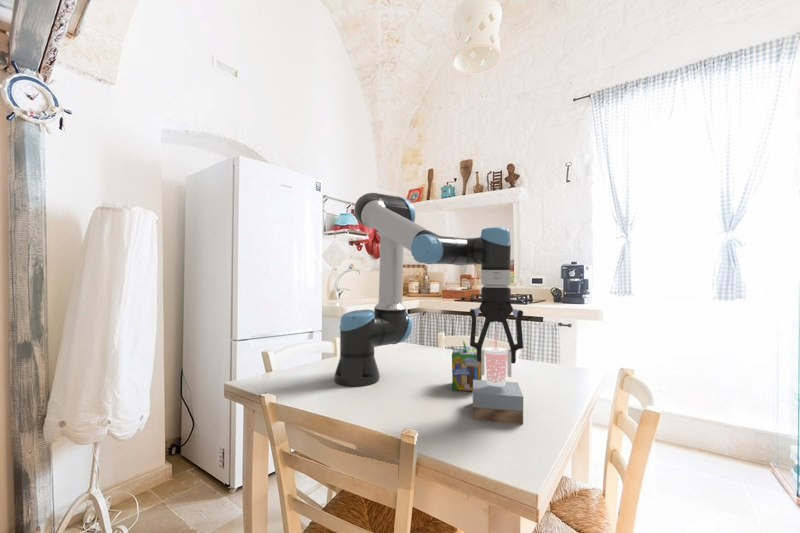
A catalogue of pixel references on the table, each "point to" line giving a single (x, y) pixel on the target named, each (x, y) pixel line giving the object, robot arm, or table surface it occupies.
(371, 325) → the robot arm
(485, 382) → the slate top slab
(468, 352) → the chalk box
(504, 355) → the beverage cup
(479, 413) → the walnut base slab
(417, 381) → the table surface
